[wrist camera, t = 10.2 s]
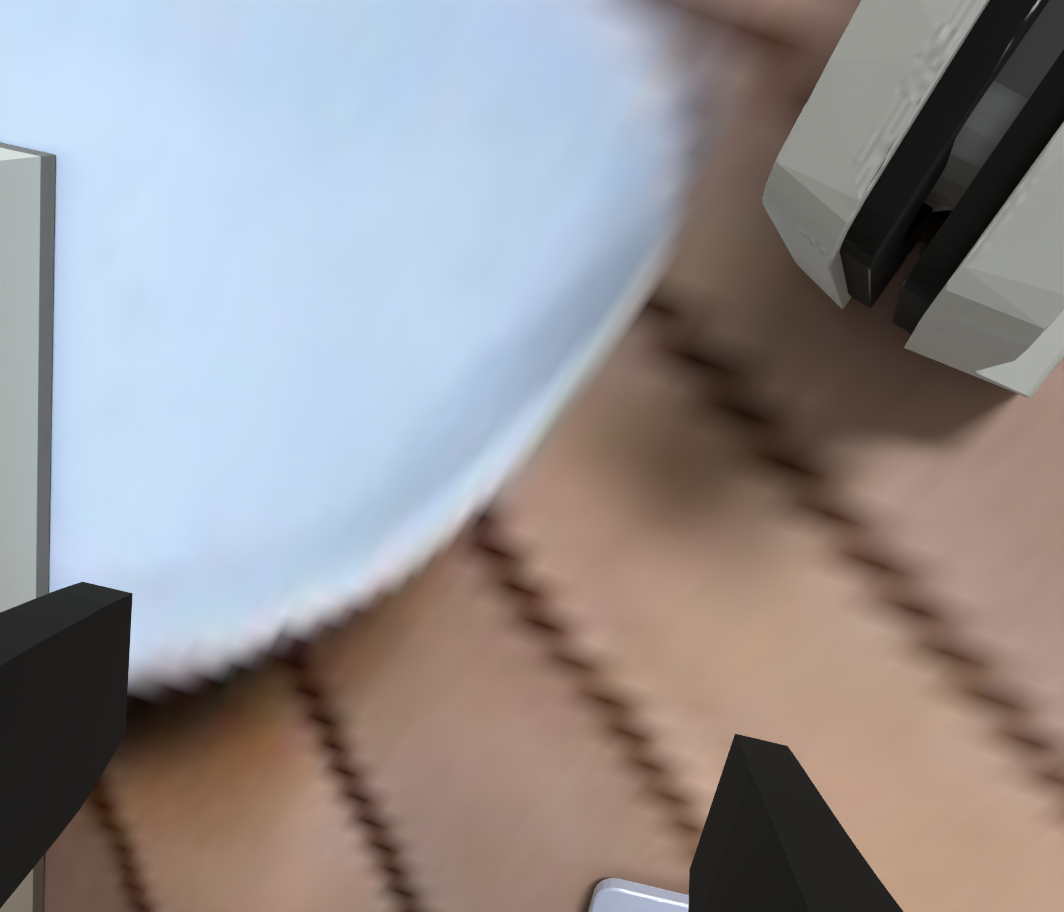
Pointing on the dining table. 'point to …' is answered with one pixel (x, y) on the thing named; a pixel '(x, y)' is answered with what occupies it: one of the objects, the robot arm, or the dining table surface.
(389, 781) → the dining table surface
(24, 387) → the post foot
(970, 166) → the grey and black device
